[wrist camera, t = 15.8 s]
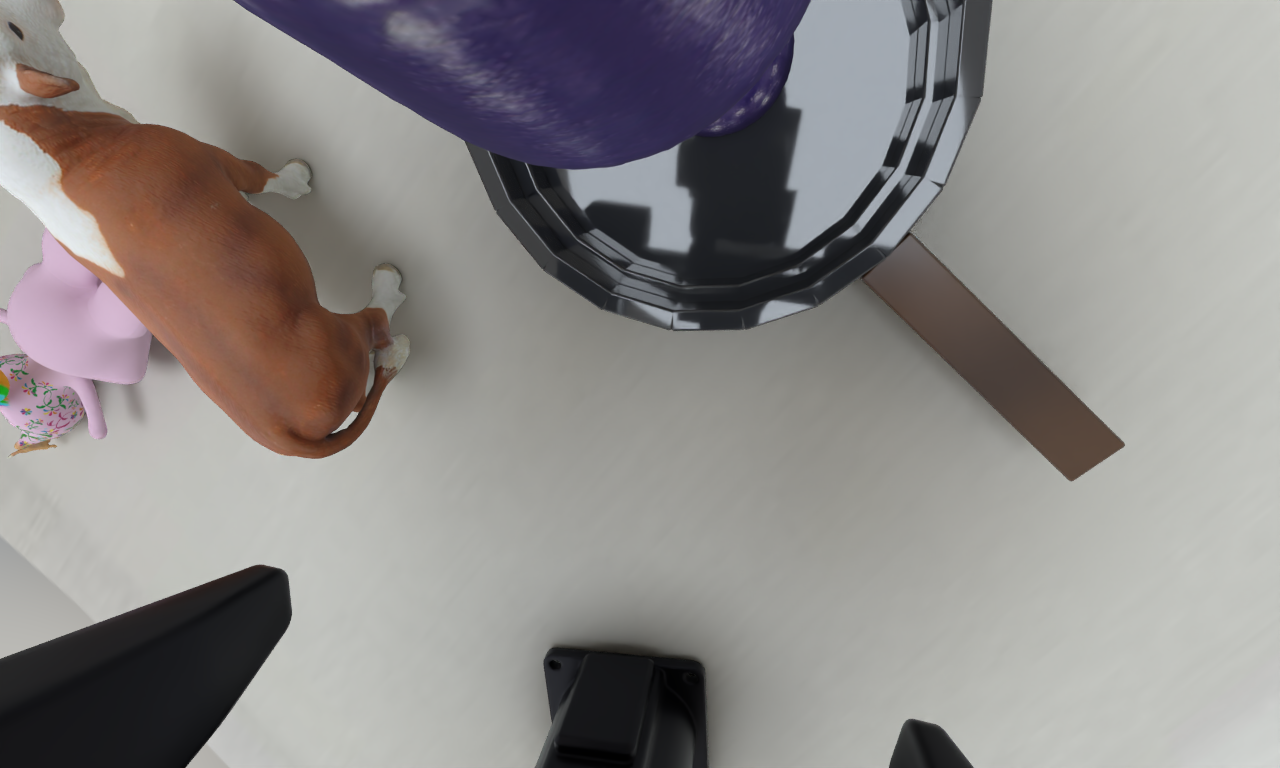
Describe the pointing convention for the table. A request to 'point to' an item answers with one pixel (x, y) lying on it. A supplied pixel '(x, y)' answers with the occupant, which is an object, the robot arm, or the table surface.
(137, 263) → the bull figurine
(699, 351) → the table surface
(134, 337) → the rabbit figure
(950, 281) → the pan handle
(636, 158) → the toy lamp
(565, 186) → the pan
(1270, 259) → the table surface
